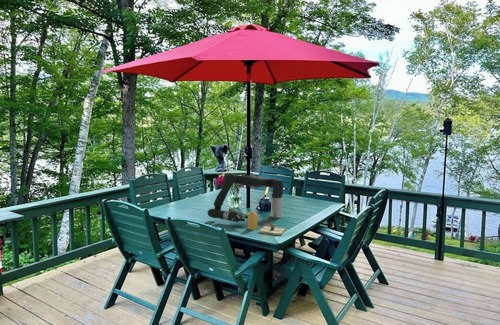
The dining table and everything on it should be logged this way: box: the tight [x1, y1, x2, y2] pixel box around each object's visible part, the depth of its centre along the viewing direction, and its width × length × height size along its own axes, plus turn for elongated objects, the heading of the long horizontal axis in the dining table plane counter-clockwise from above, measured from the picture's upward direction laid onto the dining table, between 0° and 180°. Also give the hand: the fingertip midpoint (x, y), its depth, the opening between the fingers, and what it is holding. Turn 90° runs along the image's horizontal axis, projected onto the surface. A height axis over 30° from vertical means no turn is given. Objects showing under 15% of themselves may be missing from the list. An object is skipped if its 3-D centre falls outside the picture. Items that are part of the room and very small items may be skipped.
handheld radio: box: [228, 207, 243, 215], centre depth 288 cm, size 7×3×25 cm
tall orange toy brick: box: [247, 210, 259, 231], centre depth 255 cm, size 6×6×13 cm
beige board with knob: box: [258, 223, 287, 237], centre depth 248 cm, size 14×17×6 cm
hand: (247, 218), depth 257 cm, fingers open, 8 cm apart
